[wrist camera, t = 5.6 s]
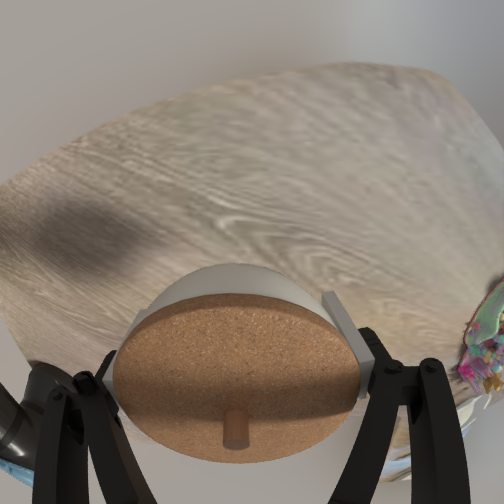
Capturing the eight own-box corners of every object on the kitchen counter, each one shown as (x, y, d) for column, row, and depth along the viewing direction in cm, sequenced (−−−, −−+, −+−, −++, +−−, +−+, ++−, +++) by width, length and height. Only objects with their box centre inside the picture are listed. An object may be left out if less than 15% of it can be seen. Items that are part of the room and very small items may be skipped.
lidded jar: (169, 373, 19) (143, 479, 10) (143, 237, 15) (53, 328, 6) (310, 371, 19) (340, 477, 10) (327, 234, 16) (414, 324, 7)
